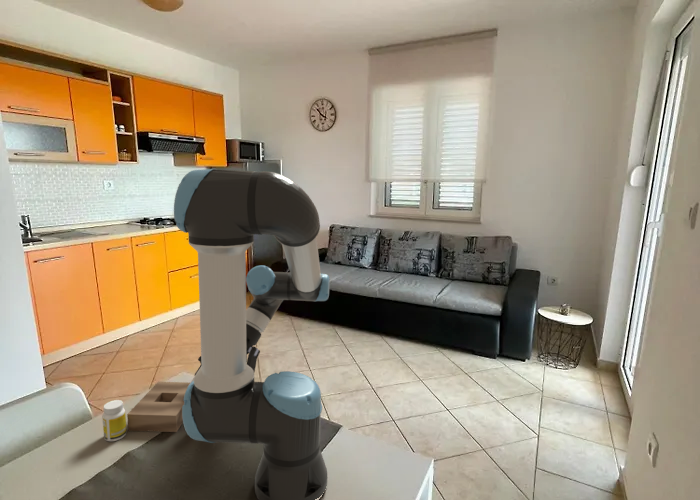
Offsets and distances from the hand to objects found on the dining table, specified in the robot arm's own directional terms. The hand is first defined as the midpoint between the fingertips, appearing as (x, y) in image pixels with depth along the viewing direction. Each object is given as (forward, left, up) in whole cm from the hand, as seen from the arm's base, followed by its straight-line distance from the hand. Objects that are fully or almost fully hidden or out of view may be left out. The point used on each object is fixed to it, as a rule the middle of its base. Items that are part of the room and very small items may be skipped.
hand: (206, 398), depth 100 cm
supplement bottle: (-7, +20, -7) cm, 22 cm away
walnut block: (+3, +12, -6) cm, 14 cm away
